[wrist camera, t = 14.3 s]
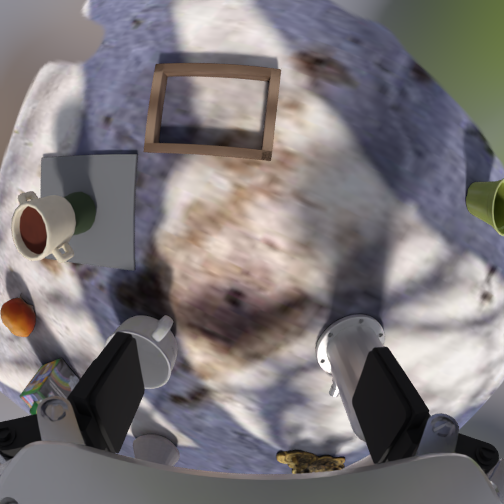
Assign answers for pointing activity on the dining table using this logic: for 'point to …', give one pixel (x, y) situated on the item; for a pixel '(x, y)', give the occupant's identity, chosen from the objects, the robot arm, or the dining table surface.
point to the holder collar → (211, 71)
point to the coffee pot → (155, 449)
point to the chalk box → (49, 384)
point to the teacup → (152, 347)
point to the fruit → (18, 317)
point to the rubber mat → (98, 205)
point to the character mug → (50, 224)
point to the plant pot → (487, 203)
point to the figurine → (309, 462)
